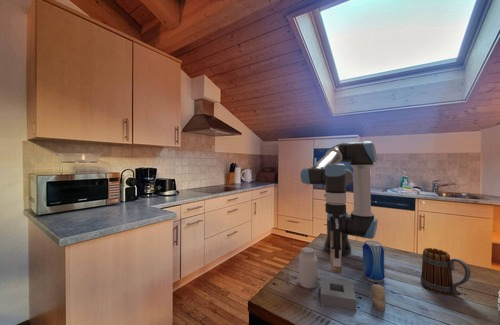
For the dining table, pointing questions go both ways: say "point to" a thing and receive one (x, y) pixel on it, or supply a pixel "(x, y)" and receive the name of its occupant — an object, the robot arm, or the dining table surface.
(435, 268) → the mug
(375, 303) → the short dowel
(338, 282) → the socket block
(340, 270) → the tall dowel
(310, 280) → the pill bottle
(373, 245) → the beer can
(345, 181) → the robot arm
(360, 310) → the dining table surface
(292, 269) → the dining table surface
